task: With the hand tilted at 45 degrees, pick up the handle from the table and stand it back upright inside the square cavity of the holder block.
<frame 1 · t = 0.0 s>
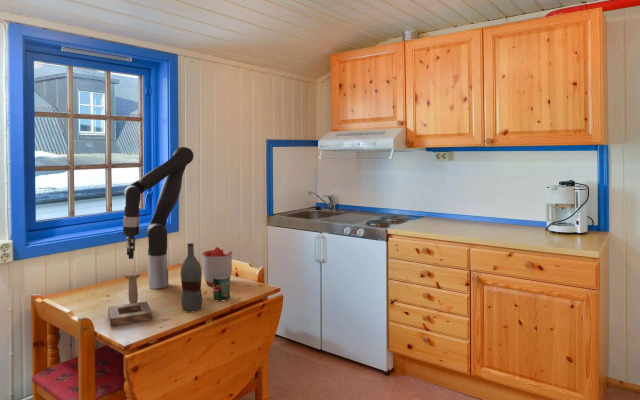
hand: (130, 256, 234), 17 cm above the table, tool pointing down, fingers open, 8 cm apart
handle: (133, 306, 213), on the table
holder: (130, 317, 198), on the table
bottle: (192, 309, 209), on the table
canned tomato: (221, 299, 224), on the table
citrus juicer: (219, 283, 249), on the table
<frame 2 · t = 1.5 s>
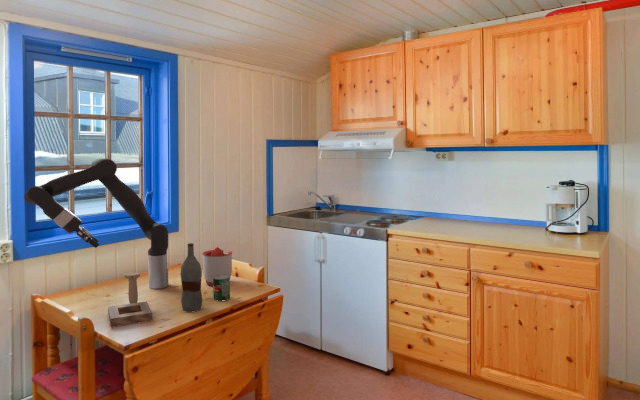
hand: (97, 244, 210), 28 cm above the table, tool tilted 45°, fingers open, 8 cm apart
nothing on the table moved.
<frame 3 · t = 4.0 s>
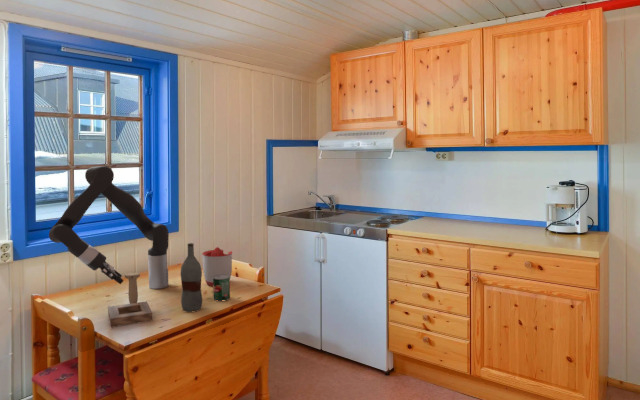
hand: (121, 279, 209), 13 cm above the table, tool tilted 45°, fingers open, 8 cm apart
nothing on the table moved.
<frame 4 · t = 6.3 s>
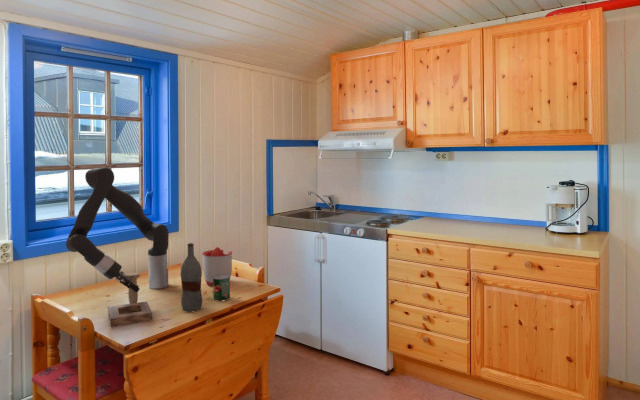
hand: (137, 289, 213), 8 cm above the table, tool tilted 45°, fingers closed on handle, 3 cm apart
handle: (133, 306, 213), on the table, touching gripper
everything else where it was.
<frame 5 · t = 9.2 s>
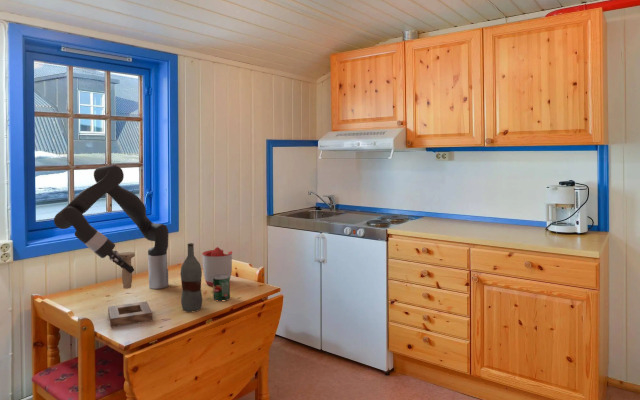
hand: (132, 270, 198), 20 cm above the table, tool tilted 45°, fingers closed on handle, 3 cm apart
handle: (127, 288, 197), point 13 cm above the table, touching gripper
everything else where it was.
when the fingers open (9 cm above the table, at t = 12.4 s): handle drops 1 cm, resting in holder.
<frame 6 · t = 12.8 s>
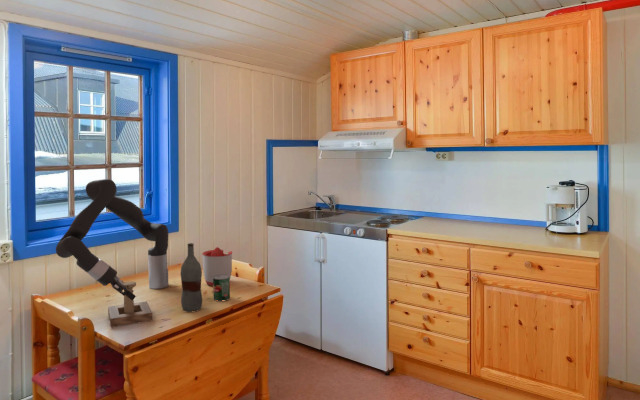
hand: (133, 295, 198), 10 cm above the table, tool tilted 45°, fingers open, 7 cm apart
handle: (129, 317, 198), resting in holder
everything else where it was.
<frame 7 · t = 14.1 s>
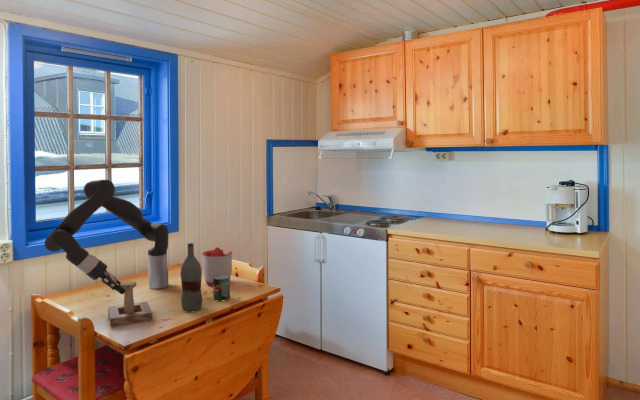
hand: (123, 289, 195), 13 cm above the table, tool tilted 45°, fingers open, 8 cm apart
nothing on the table moved.
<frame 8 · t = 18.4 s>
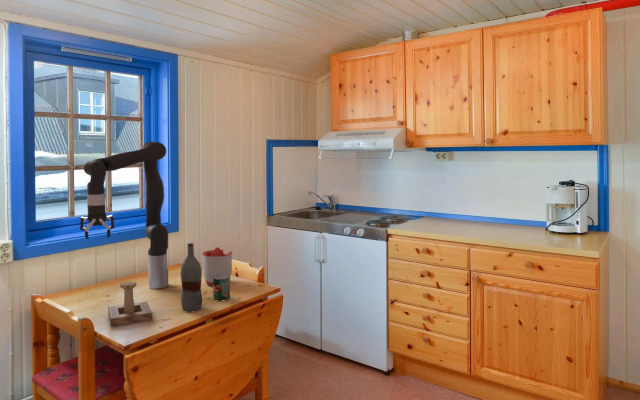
hand: (97, 238, 215), 30 cm above the table, tool pointing down, fingers open, 8 cm apart
nothing on the table moved.
at the end: handle 0.2 cm off-centre on the holder, point 0.0 cm above the holder's base; handle tilted 0°; the gripper is holding nothing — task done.
